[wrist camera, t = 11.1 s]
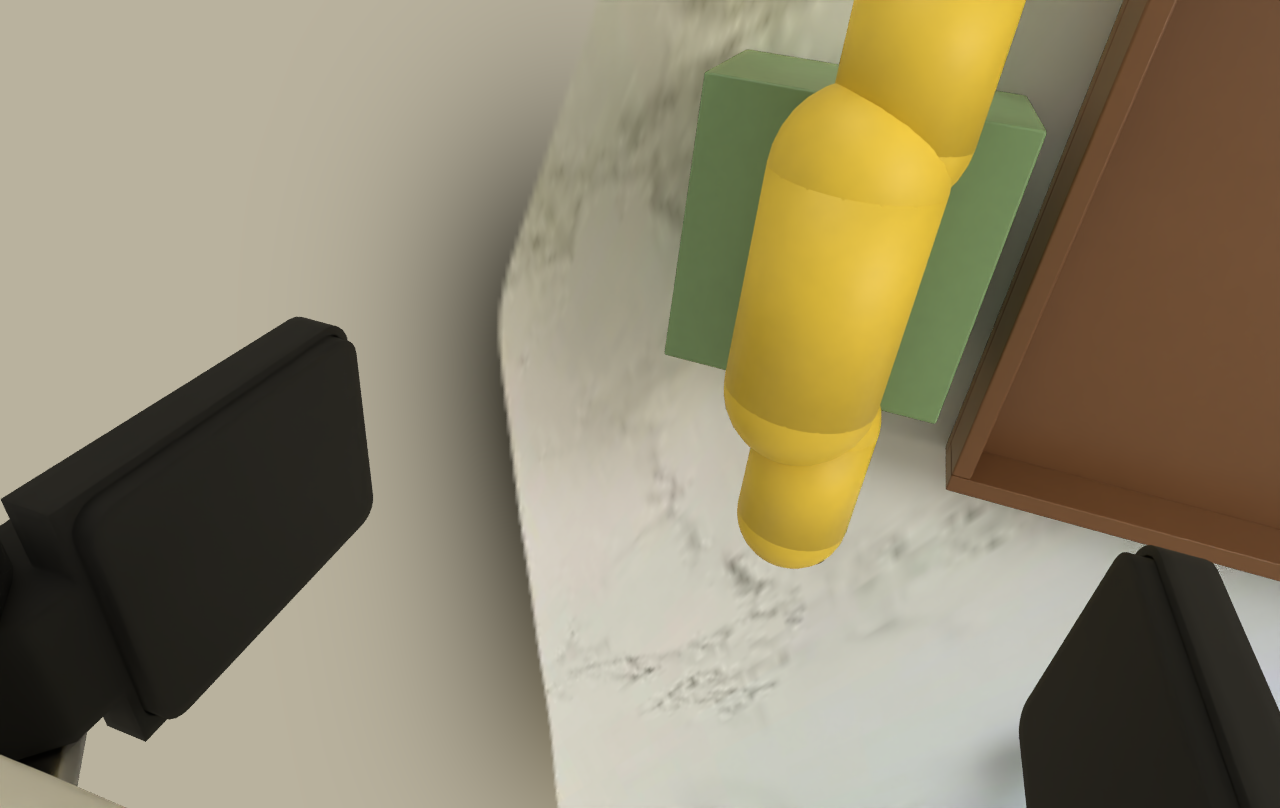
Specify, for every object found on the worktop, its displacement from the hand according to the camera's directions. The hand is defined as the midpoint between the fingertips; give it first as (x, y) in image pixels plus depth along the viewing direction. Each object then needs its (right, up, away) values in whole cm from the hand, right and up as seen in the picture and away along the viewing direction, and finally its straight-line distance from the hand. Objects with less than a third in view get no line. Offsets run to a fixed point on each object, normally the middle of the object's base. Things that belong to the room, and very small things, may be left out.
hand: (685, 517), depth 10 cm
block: (+6, +8, +15) cm, 18 cm away
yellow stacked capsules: (+4, +5, +11) cm, 13 cm away
